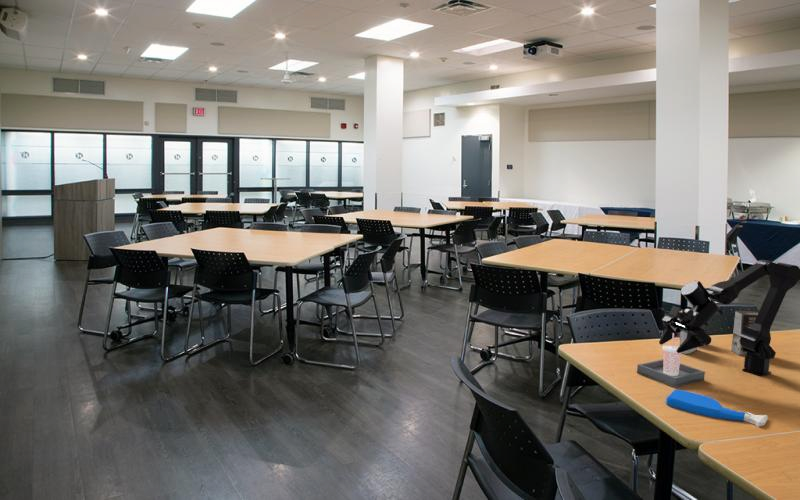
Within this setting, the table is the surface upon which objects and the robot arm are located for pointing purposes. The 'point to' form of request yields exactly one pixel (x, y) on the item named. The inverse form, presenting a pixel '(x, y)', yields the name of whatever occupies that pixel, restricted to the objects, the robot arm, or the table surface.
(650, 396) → the table surface
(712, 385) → the table surface
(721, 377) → the table surface
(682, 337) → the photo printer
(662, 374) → the tray
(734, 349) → the coffee box
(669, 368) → the beverage cup
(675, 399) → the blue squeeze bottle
